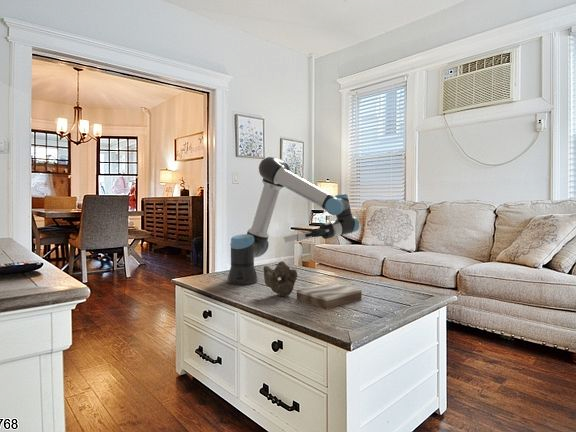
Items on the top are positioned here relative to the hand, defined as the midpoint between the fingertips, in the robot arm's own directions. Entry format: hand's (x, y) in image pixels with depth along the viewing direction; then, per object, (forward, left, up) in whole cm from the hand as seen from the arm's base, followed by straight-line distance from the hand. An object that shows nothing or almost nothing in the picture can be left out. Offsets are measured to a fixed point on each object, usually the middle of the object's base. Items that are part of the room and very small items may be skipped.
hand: (291, 238), depth 164 cm
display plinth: (+20, +3, -24) cm, 32 cm away
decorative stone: (+1, -8, -24) cm, 25 cm away
